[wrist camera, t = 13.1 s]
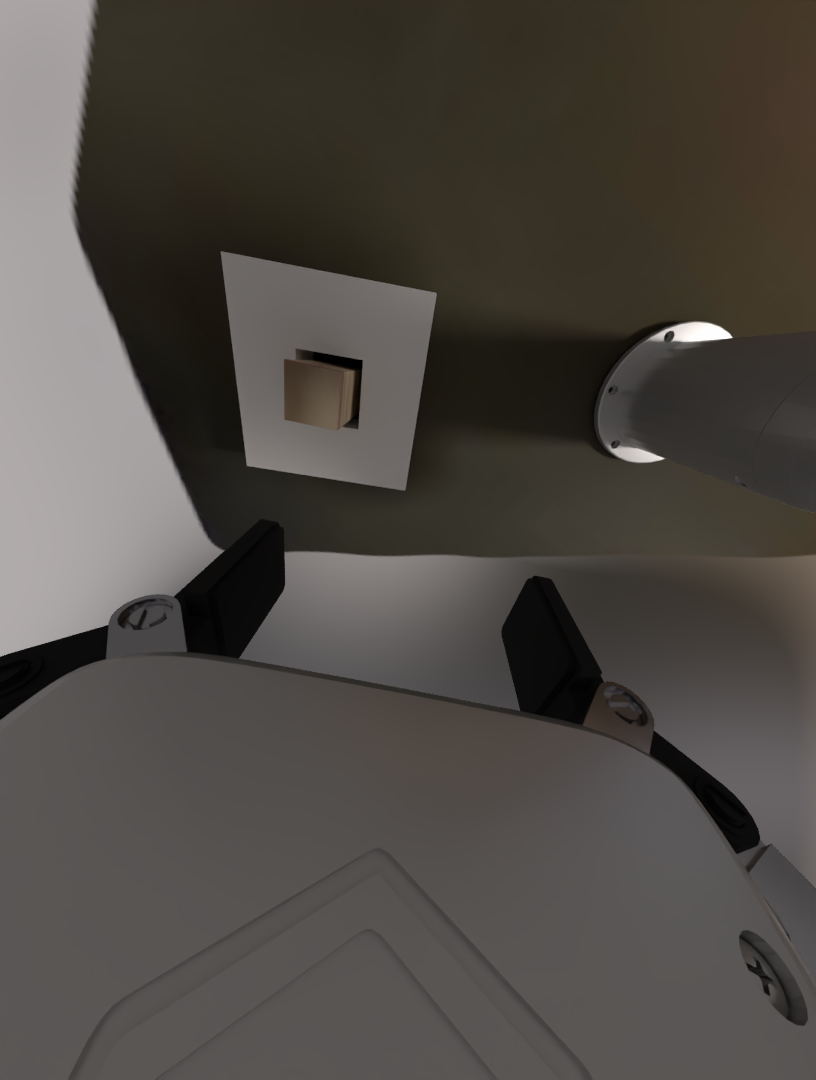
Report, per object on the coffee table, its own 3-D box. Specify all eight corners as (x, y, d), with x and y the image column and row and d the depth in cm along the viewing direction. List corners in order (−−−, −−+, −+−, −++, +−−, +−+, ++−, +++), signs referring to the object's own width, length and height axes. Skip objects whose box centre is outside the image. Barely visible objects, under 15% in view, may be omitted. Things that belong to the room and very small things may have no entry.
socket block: (433, 304, 27) (436, 293, 22) (406, 475, 35) (405, 490, 31) (253, 270, 26) (220, 251, 22) (268, 453, 34) (246, 465, 30)
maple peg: (364, 369, 30) (341, 372, 21) (359, 412, 32) (337, 430, 23) (323, 360, 29) (283, 358, 21) (321, 404, 31) (284, 419, 23)
